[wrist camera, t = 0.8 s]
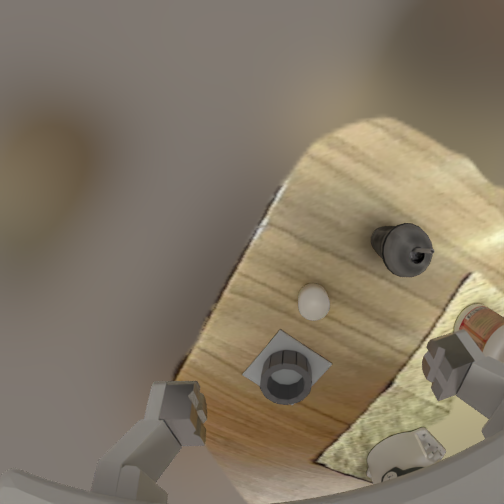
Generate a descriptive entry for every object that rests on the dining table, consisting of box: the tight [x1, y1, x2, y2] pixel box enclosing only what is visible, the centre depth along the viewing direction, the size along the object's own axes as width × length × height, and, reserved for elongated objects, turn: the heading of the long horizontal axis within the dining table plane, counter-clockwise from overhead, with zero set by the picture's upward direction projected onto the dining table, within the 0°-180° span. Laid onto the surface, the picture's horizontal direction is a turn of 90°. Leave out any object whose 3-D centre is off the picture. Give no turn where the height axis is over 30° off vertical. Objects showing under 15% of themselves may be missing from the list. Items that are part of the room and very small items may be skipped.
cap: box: [298, 283, 330, 321], centre depth 50 cm, size 5×5×4 cm
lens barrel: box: [242, 329, 332, 405], centre depth 52 cm, size 12×12×5 cm
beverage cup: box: [371, 223, 434, 277], centre depth 39 cm, size 7×7×20 cm
